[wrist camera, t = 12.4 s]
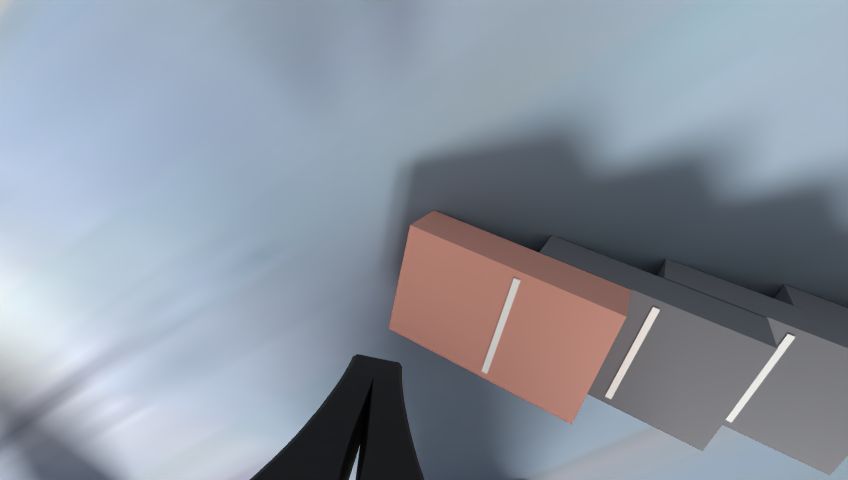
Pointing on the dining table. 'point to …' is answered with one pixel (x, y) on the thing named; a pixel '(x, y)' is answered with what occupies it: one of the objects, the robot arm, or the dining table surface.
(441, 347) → the salmon end domino
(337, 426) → the robot arm
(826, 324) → the domino
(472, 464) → the dining table surface
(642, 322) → the domino
